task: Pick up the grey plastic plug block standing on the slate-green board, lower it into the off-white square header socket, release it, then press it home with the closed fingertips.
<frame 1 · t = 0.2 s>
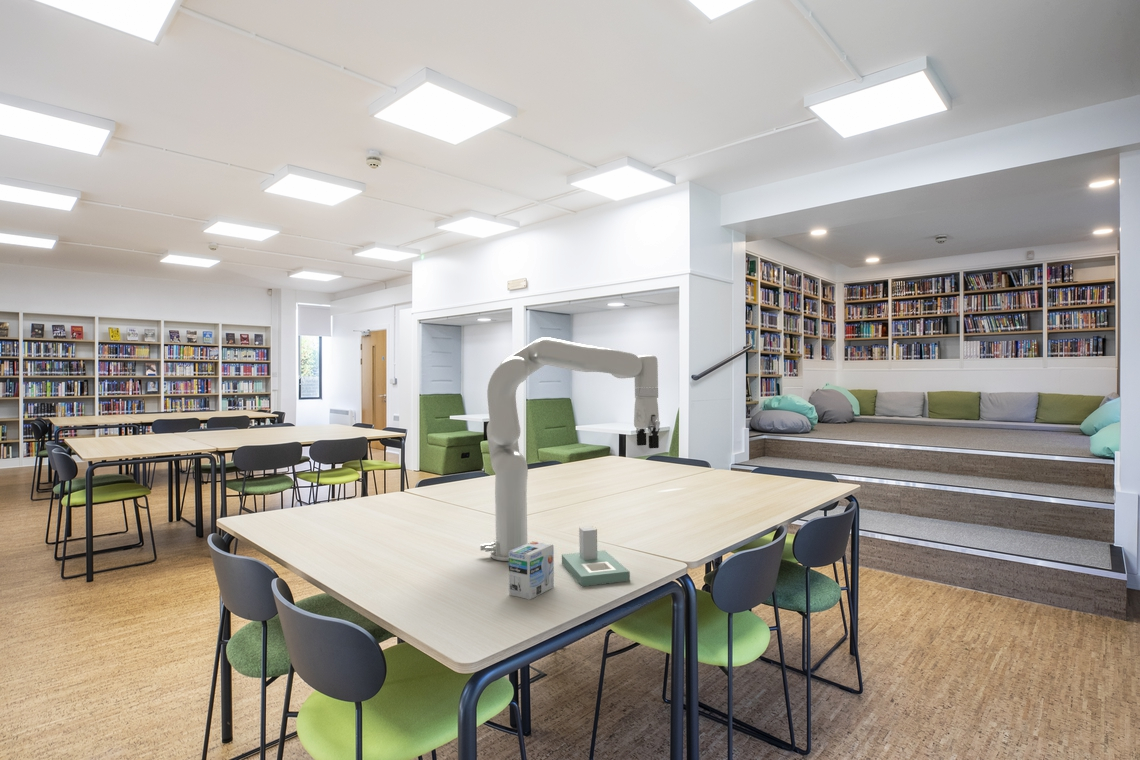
hand: (647, 446, 181), 31 cm above the table, tool pointing down, fingers open, 9 cm apart
plug: (588, 557, 157), point 2 cm above the table, touching board
light bulb box: (532, 591, 139), on the table
board: (594, 571, 153), on the table
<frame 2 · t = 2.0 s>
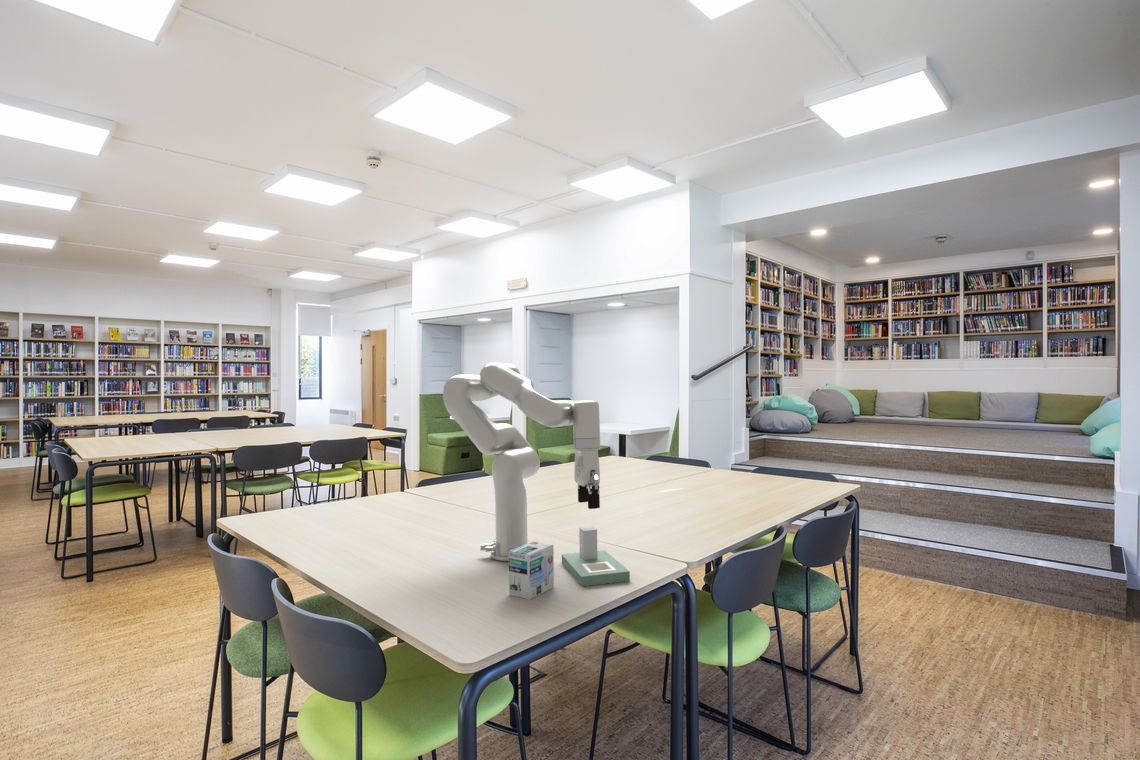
hand: (588, 505, 158), 17 cm above the table, tool pointing down, fingers open, 9 cm apart
nothing on the table moved.
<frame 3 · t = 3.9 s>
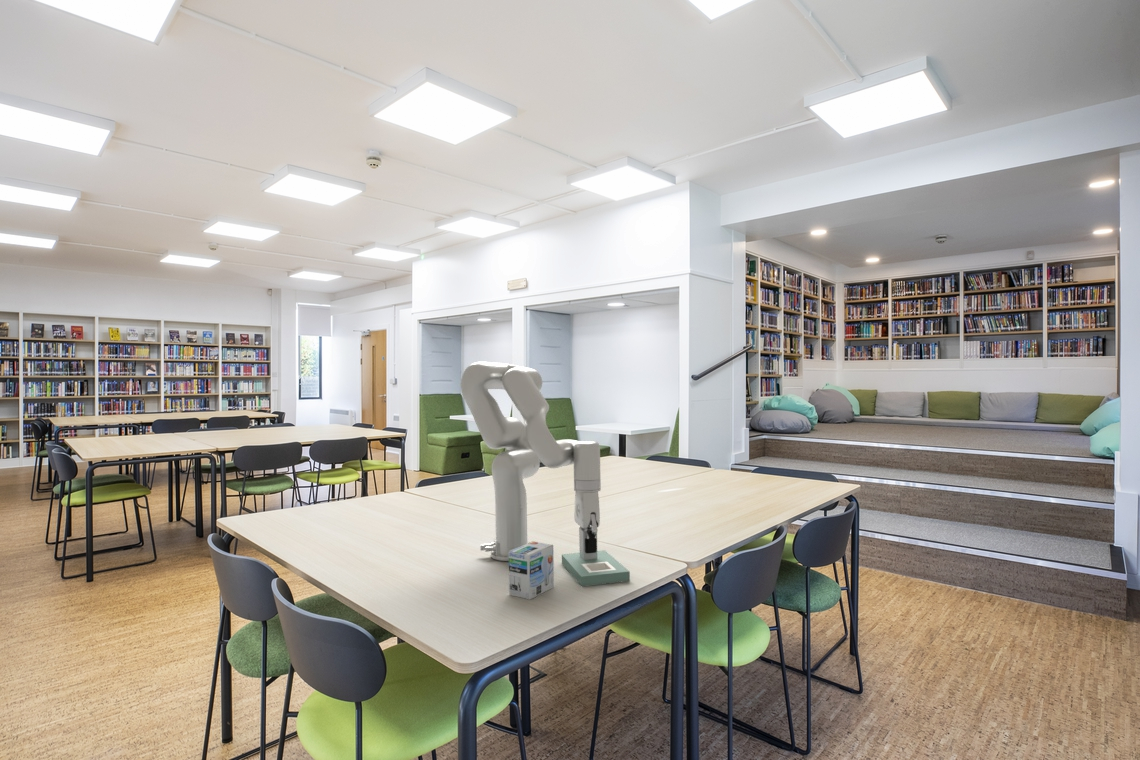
hand: (588, 549, 157), 5 cm above the table, tool pointing down, fingers closed on plug, 4 cm apart
plug: (588, 557, 157), point 2 cm above the table, touching board, gripper
everything else where it was.
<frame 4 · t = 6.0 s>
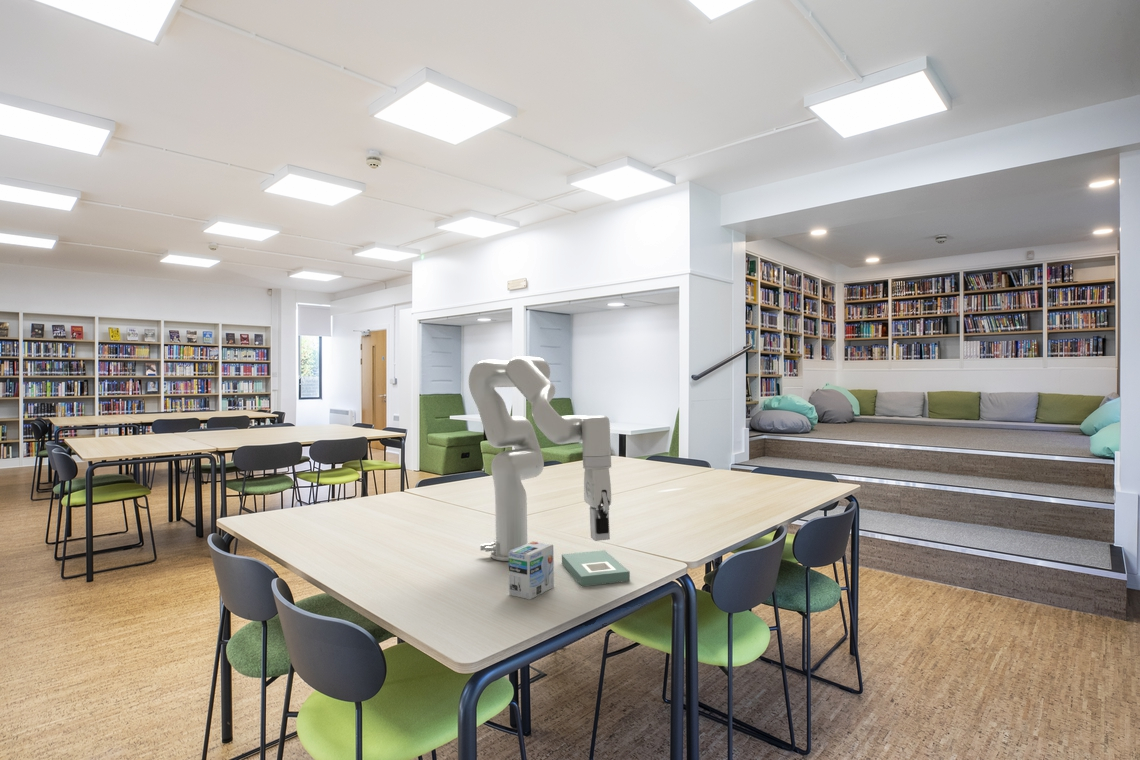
hand: (599, 530, 148), 12 cm above the table, tool pointing down, fingers closed on plug, 4 cm apart
plug: (600, 538, 148), point 10 cm above the table, touching gripper
everything else where it was.
when the fingers open (4 cm above the table, at t = 8.1 s): plug drops 1 cm, resting in board.
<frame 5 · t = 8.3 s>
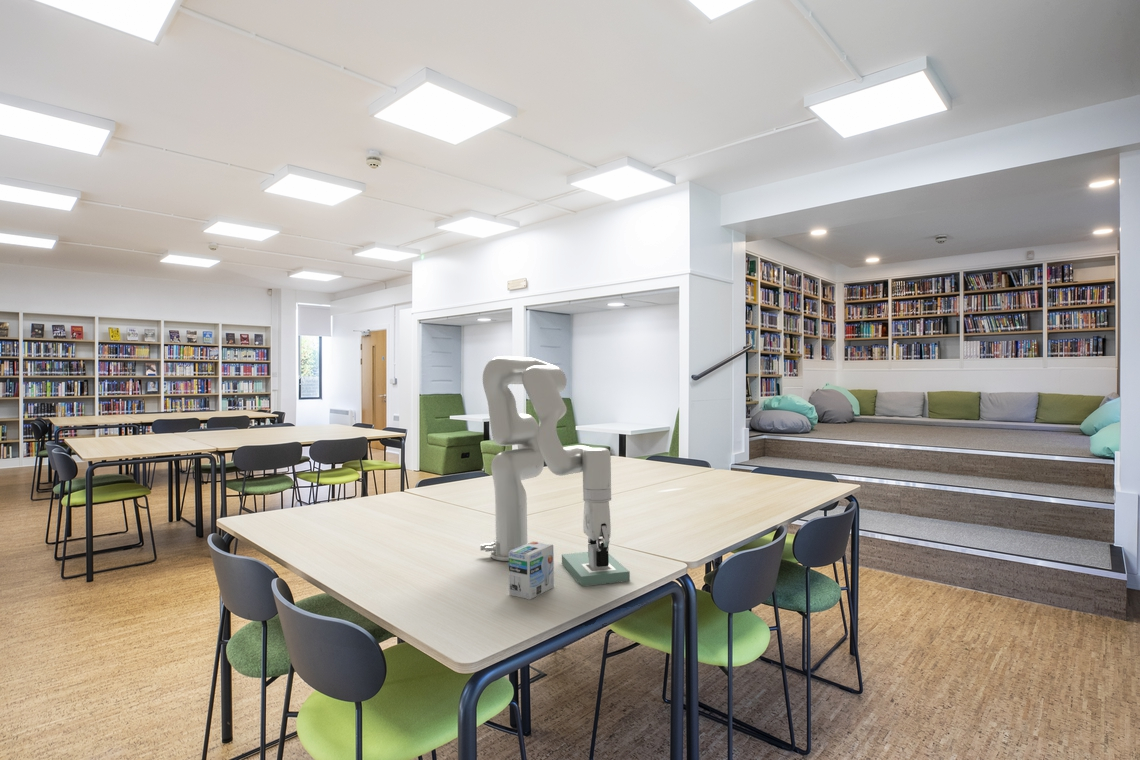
hand: (598, 561, 149), 4 cm above the table, tool pointing down, fingers open, 6 cm apart
plug: (598, 576, 149), resting in board
everything else where it was.
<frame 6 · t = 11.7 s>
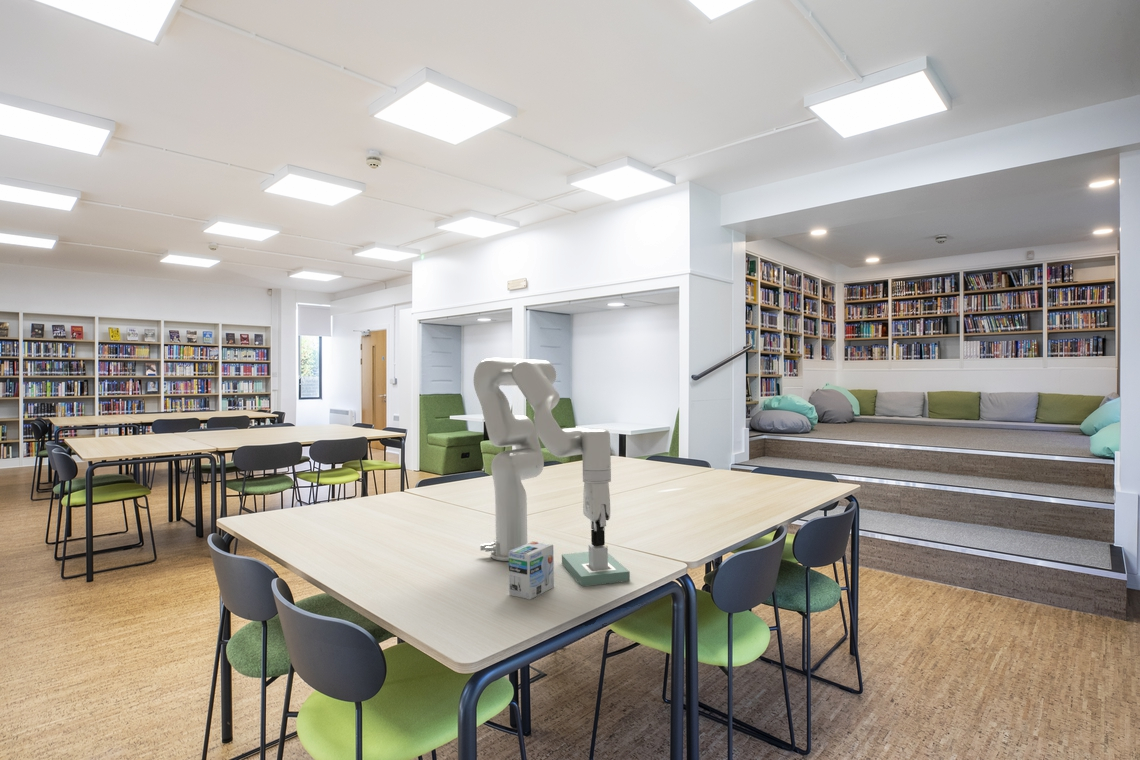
hand: (598, 544, 149), 8 cm above the table, tool pointing down, fingers closed
nothing on the table moved.
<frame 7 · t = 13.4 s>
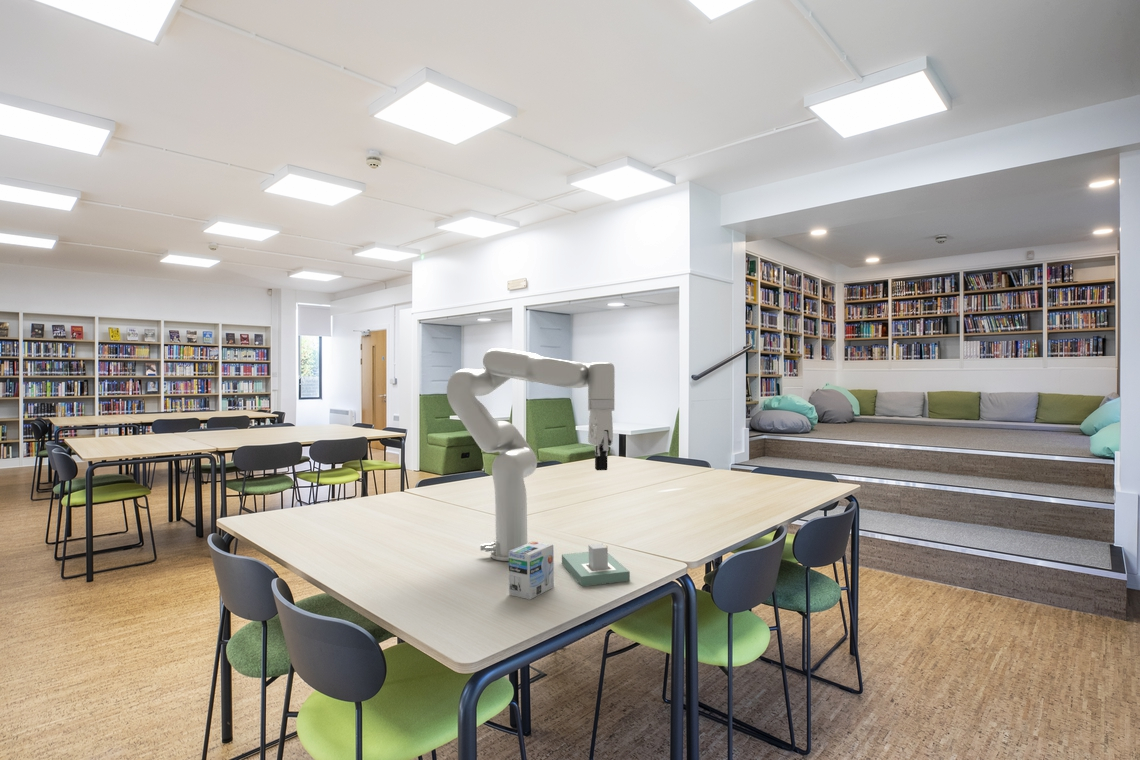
hand: (601, 469, 160), 27 cm above the table, tool pointing down, fingers closed
nothing on the table moved.
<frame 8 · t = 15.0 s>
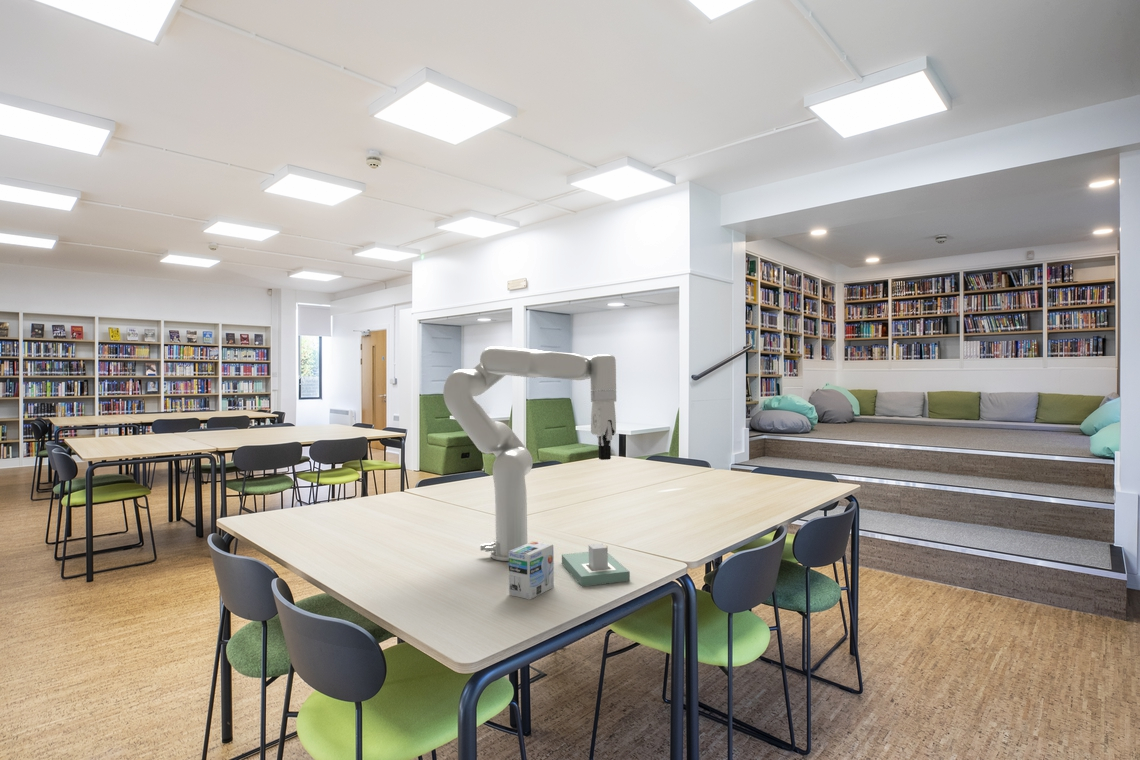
hand: (604, 459, 165), 29 cm above the table, tool pointing down, fingers closed
nothing on the table moved.
at the end: plug 0.1 cm from the target spot on the board, point 0.0 cm above the board's base; plug tilted 0°; the gripper is holding nothing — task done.
